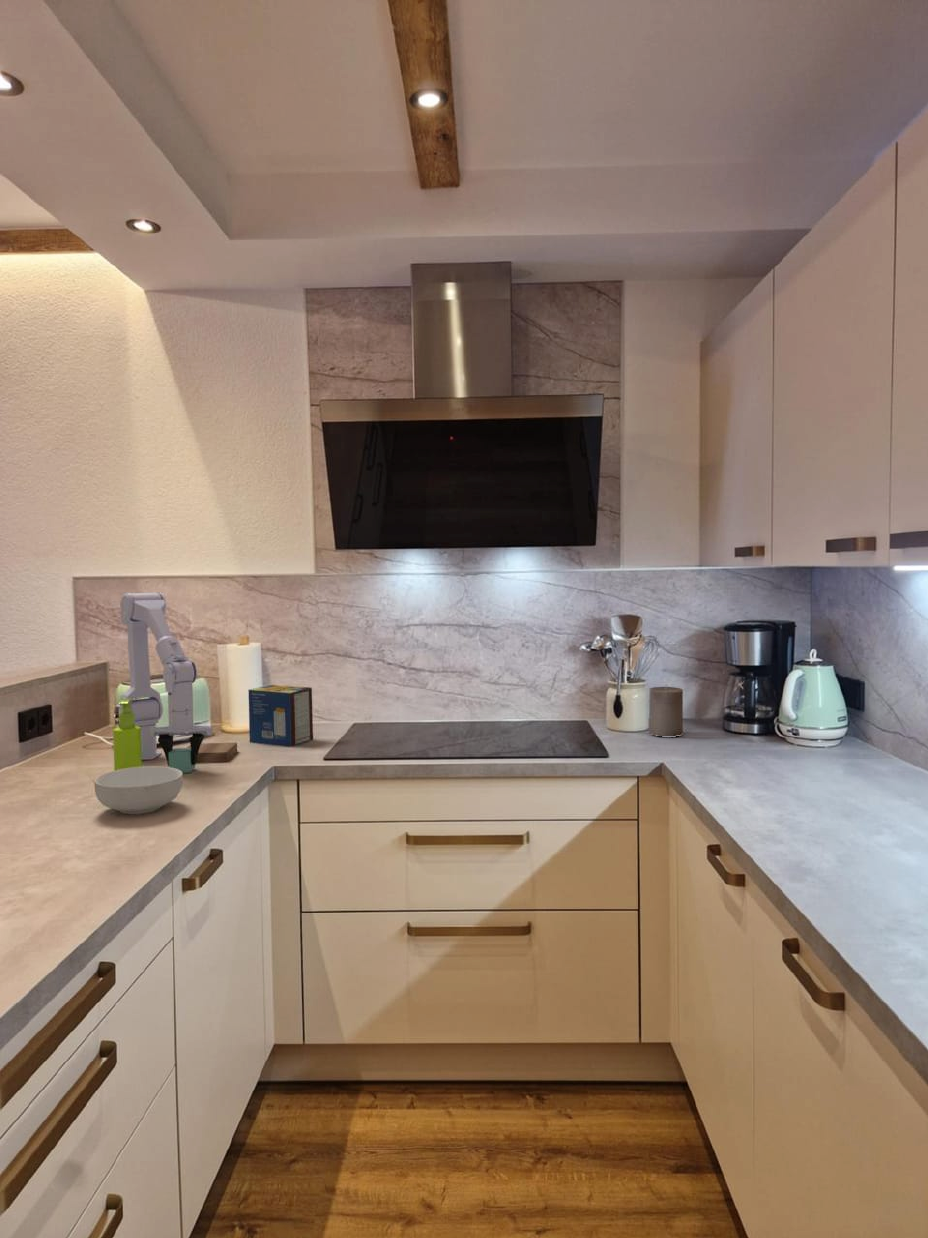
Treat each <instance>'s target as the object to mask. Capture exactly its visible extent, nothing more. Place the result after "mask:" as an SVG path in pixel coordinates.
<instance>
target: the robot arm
mask: <svg viewBox="0 0 928 1238" xmlns="http://www.w3.org/2000/svg"><path fill="white" fill-rule="evenodd" d="M119 605H120V606H119V607H120V609H119V610H120V619H121V621H120V622H121V624H122V625H124V626H126V630H127V649H128V651H127V652H128V667H129V669H128V670H129V681H130V682H129V683H130V685H129V686H130V687H129V688H128V689H127V690H125V692H123V693H122V694H121V695H120V696H119V701H120V700H121V699H128V698H131V701H130V711H132V712H134V715H135V726H139V727H141V753H142V760H143V761H144V760H145V761H146V760H148V761H149V760H154V759H156V757H158V756H160V755H161V754H162V753H164V756H165V759H166V762H167V767H169V752H170V751H171V750H173V749H174V748H173V747H174V736H175V737H176V736H190V737H189V743H190V745H191V764H192V765H195V766H196V764H197V763H196V761H197V755H198V752H199V748H200V746H201V743H203V741H204V738H205V736H212V735H213V726H212V725H209V726H208V725H194V700H193V698H194V697H193V696H194V694H193V691H194V690H193V689H194V688H193V683H195V682H196V680H197V675H198V671H197V666H196V663H195V661H193V659H190V657H188V656H186V655H185V652H184V650H183V647H182V645H181V643H180V642H179V639H178V638H177V637H174V636H172V634H171V631H170V627H169V626H168V622H167V620H166V616H165V615H166V612H167V611H166V609H167V601H166V597H165V596H164V594H163V593H162V592H161V591H159V592H158V591H156V592H139V593H138V592H136V593H135V592H133V593H132V592H131V593H130V592H125V593H124V594H123V596H122V597H121V600H120V602H119ZM148 628H149V629H150V631H151V633H152V635H153V637H154V638H155V640H156V641H157V642H156V644H155V651H156V652H157V653H156V654H157V655H158V657H159V660H160V662H161V664H162V667H163V670H162V678H163V682H164V684H165V685H164V686H165V692H167V703H168V706H167V707H168V711H167V712H168V726H158V727H157V724H159V721H160V719H162V716H163V714H164V708H163V702H162V700H161V693H160V692H159V691H157V690H156V689H154V688H153V687H152V685H151V671H150V656H149V654H150V653H149V637H148V636H149V635H148ZM121 712H123V711H122V705H119V706H118V714H119V713H121ZM157 737H158V739H157ZM157 743H158V744H159V745H160V747H161V749H162V751H163V752H162V751H160V750H159V751H158V749H157ZM190 745H189V746H190Z"/></svg>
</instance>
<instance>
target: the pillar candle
mask: <svg viewBox="0 0 928 1238" xmlns="http://www.w3.org/2000/svg"><path fill="white" fill-rule="evenodd" d="M648 690H649V702H648V706H649V707H648V708H649V711H648V713H649V714H648V715H649V716H648V719H649V720H648V721H649V722H648V724H649V725H648V727H649V728H648V734H649V733H650V734H652V735H658V736H676V735H681V734H683V733H684V732H683V729H684V728H683V726H684V725H683V724H684V722H683V721H684V719H683V717H684V714H683V713H684V709H683V706H684V705H683V704H684V699H683V697H684V696H683V695H684V694H683V693H684V691H683V689H682V688H680V687H674V686H673V687H672V686H668V684H666V686H654V687H650V688H649V689H648ZM650 734H649V735H650ZM652 735H651V736H652Z"/></svg>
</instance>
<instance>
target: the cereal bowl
mask: <svg viewBox="0 0 928 1238" xmlns="http://www.w3.org/2000/svg"><path fill="white" fill-rule="evenodd" d="M183 777H184V773H182V772H181V771H180V770H178V769H175V768H171V767H169V766H160V765H159V766H157V765H155V766H154V765H152V766H151V765H150V766H149V765H147V766H145V765H144V766H143V765H142V767H133V768H125V769H120V770H115V771H114V770H112V771H108V772H105V773H102V774H101V775H99V776H97V777H96V778H95V779H94V783H93V785H94V792H95V796H96V798H97V800H98V802H100V804H101V805H102V806H105V807H106V808H109V809H112V810H116V811H118V812H119V813H121V814H125V815H140V814H141V815H142V814H147V813H148V814H149V813H152V812H155V811H157V810H159V809H160V808H161V807H163V806H165V805H167V804H169V803H170V802H172V801H173V800H175V799H176V798H177V797H178V795H179V794H180V793H181V789H182V787H183V781H184V780H183V779H184V778H183Z"/></svg>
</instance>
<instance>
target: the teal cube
mask: <svg viewBox="0 0 928 1238" xmlns="http://www.w3.org/2000/svg"><path fill="white" fill-rule="evenodd" d="M168 767H171V768H175V769H178V770H180V771H181V772H182V773H183V774H184V773H186V774H187V773H191V772H193V771H194V769H196V764H195V765H192V764H191V748H187V747H174V748H173V750H171V751H170V752H169V766H168Z"/></svg>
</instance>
